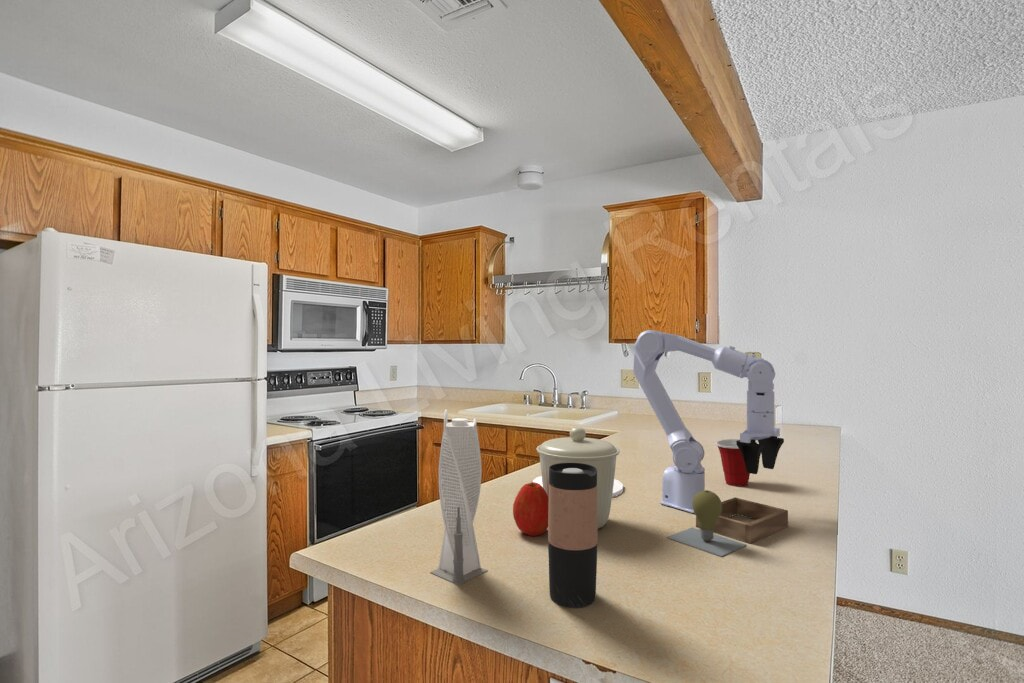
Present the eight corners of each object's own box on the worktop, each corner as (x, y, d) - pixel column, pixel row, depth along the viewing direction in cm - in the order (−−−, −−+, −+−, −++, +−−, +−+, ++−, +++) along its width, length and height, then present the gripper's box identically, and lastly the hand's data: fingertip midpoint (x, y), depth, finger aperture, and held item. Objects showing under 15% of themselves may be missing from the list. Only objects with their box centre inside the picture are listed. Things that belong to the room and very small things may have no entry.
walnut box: (696, 526, 112) (696, 510, 112) (735, 512, 122) (735, 497, 122) (750, 543, 102) (750, 526, 102) (787, 526, 112) (787, 510, 112)
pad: (666, 537, 106) (666, 536, 106) (692, 528, 111) (692, 527, 111) (721, 557, 96) (721, 555, 96) (746, 545, 102) (746, 544, 102)
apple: (520, 523, 114) (520, 474, 114) (556, 527, 111) (556, 477, 111) (507, 536, 106) (507, 484, 106) (546, 541, 103) (546, 487, 103)
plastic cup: (707, 480, 151) (707, 438, 151) (739, 478, 153) (739, 437, 153) (731, 490, 140) (731, 445, 140) (765, 487, 143) (765, 444, 143)
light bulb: (724, 547, 100) (724, 495, 100) (693, 545, 101) (693, 493, 101) (720, 537, 105) (720, 488, 105) (691, 534, 107) (691, 486, 107)
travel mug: (544, 585, 84) (544, 462, 84) (590, 584, 85) (591, 461, 85) (552, 609, 77) (552, 474, 77) (603, 607, 77) (603, 473, 77)
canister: (624, 515, 119) (624, 423, 120) (613, 543, 102) (613, 436, 102) (548, 507, 125) (548, 419, 125) (525, 532, 108) (526, 431, 108)
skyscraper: (424, 572, 90) (425, 410, 90) (458, 557, 96) (458, 406, 96) (458, 587, 85) (459, 415, 85) (492, 570, 91) (492, 410, 91)
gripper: (762, 416, 112) (762, 479, 111) (793, 410, 120) (793, 469, 120) (731, 412, 117) (731, 472, 117) (762, 407, 126) (762, 463, 126)
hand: (760, 470), depth 119 cm, fingers open, 7 cm apart
